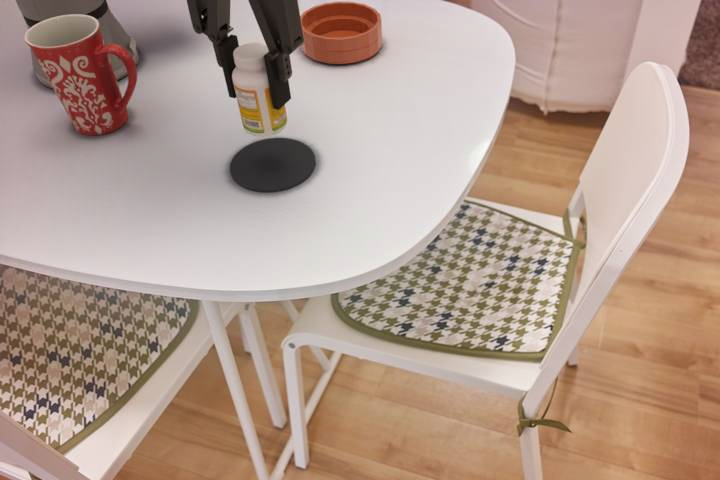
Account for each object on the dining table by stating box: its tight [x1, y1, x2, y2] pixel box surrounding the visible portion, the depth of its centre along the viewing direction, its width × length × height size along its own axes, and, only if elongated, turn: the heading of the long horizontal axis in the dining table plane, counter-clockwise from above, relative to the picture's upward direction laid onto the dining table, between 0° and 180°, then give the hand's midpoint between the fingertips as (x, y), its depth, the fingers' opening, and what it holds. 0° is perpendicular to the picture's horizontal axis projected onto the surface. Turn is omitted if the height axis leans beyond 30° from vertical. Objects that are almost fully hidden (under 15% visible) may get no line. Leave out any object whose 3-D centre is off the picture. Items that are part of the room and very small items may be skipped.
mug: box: [23, 14, 138, 136], centre depth 81 cm, size 13×9×14 cm
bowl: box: [300, 1, 383, 65], centre depth 99 cm, size 13×13×4 cm
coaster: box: [229, 137, 317, 193], centre depth 79 cm, size 11×11×1 cm
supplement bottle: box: [232, 42, 288, 138], centre depth 71 cm, size 5×5×10 cm
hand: (260, 97), depth 72 cm, fingers closed on supplement bottle, 5 cm apart
